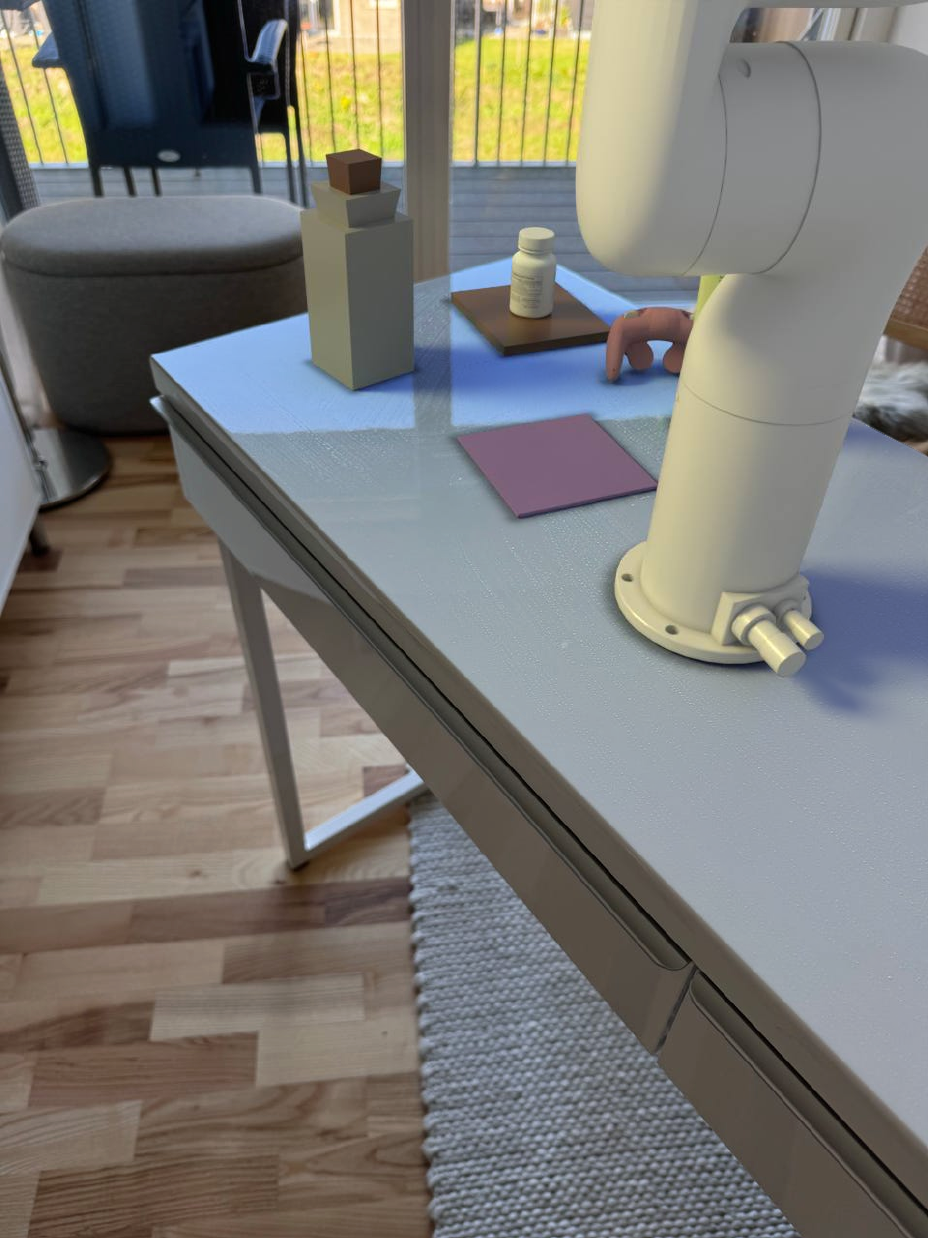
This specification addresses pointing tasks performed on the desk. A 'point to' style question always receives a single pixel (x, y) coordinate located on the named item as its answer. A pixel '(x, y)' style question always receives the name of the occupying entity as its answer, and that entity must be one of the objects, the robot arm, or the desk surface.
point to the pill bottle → (533, 274)
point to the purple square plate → (555, 464)
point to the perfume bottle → (359, 273)
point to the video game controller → (648, 338)
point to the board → (530, 321)
